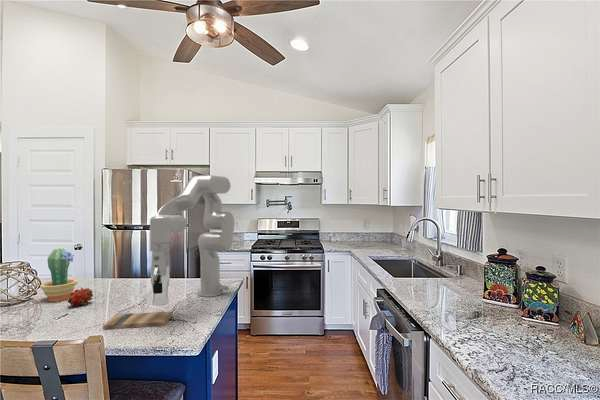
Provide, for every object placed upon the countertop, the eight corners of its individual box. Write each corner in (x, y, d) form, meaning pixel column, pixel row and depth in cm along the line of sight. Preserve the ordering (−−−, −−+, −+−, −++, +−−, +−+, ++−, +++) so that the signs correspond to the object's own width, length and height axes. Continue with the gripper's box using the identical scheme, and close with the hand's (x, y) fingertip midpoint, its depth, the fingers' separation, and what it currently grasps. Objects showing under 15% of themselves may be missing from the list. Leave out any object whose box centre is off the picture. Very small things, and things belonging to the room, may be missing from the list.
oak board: (172, 314, 138) (172, 311, 138) (164, 325, 126) (164, 321, 126) (116, 318, 135) (116, 314, 135) (103, 329, 123) (103, 325, 123)
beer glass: (172, 300, 135) (172, 264, 136) (164, 306, 128) (164, 267, 129) (156, 300, 136) (156, 264, 136) (147, 305, 129) (147, 267, 129)
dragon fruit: (95, 304, 159) (70, 316, 147) (83, 293, 160) (58, 304, 149) (100, 291, 156) (76, 302, 145) (88, 280, 158) (63, 290, 146)
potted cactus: (45, 305, 152) (44, 252, 152) (35, 299, 162) (34, 249, 162) (83, 297, 164) (82, 247, 164) (71, 292, 174) (71, 245, 174)
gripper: (164, 249, 124) (164, 296, 124) (175, 243, 142) (175, 285, 141) (143, 249, 123) (143, 297, 123) (156, 244, 140) (157, 286, 140)
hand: (160, 290), depth 132 cm, fingers closed on beer glass, 6 cm apart
